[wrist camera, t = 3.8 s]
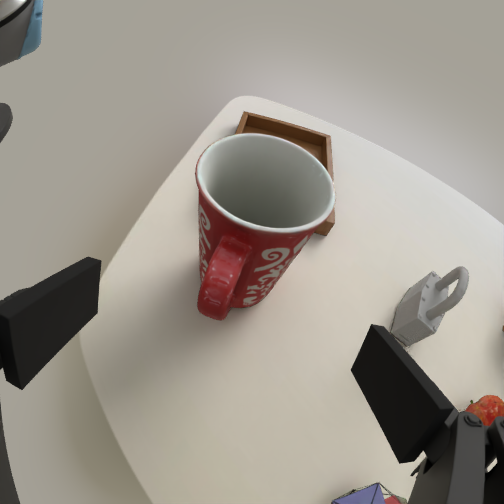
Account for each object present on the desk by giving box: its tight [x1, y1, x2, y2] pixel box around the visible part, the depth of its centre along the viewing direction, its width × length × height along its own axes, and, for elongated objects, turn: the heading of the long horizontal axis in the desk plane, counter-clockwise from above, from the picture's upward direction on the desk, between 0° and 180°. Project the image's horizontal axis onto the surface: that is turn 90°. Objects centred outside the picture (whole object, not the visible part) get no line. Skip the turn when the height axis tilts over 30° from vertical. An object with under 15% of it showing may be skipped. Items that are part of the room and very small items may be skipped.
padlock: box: [391, 266, 469, 346], centre depth 26 cm, size 7×4×10 cm, turn 143°
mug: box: [195, 133, 336, 320], centre depth 23 cm, size 13×9×14 cm
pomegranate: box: [465, 395, 504, 426], centre depth 21 cm, size 7×7×10 cm
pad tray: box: [235, 111, 335, 236], centre depth 37 cm, size 14×18×2 cm
